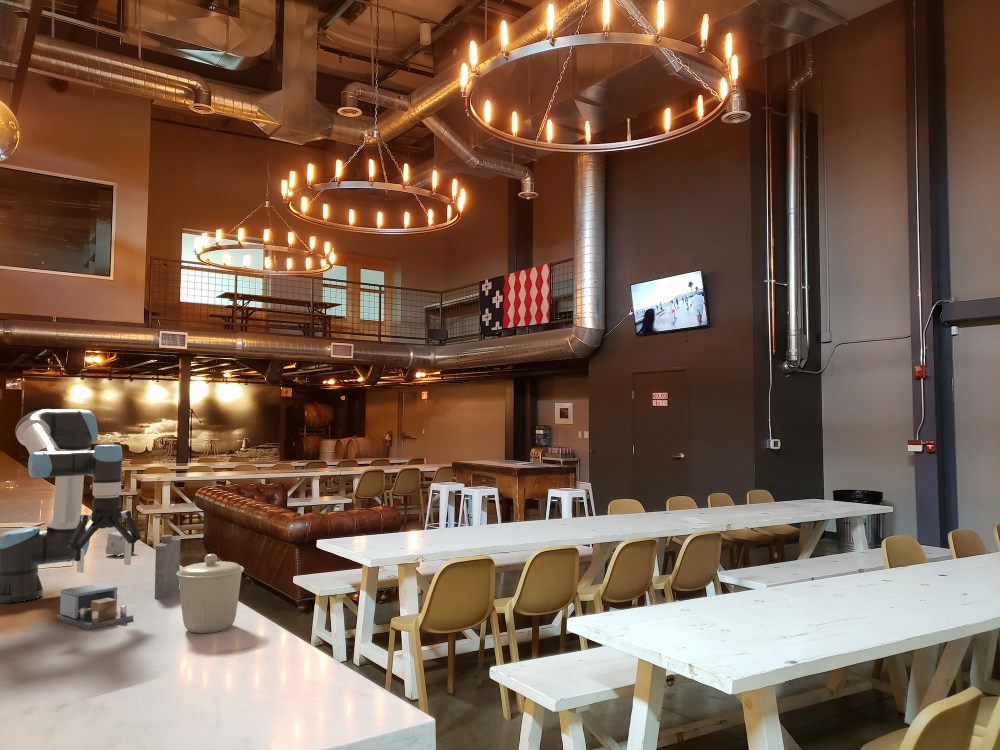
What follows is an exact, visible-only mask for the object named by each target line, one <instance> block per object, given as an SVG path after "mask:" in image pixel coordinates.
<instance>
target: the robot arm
mask: <svg viewBox="0 0 1000 750" xmlns="http://www.w3.org/2000/svg"><path fill="white" fill-rule="evenodd" d="M97 422H98V421H97V419H96V415H95V414H94V412H93V411H91V410H89V409H80V408H75V409H73V408H71V409H69V408H68V409H66V408H65V409H63V408H62V409H61V408H60V409H59V408H58V409H57V408H56V409H50V408H44V409H38V410H34V411H31V412H29V413H27V414H26V415H24V416H23V417H22V418H21V419H20V420H19V421H18V423H17V424H16V426H15V429H14V433H15V437H16V439H17V441H18V442H19V443H20V444H21V445H23V446H25V448H26V449H27V451H28V453H29V457H28V462H27V470H28V474H29V476H30V477H31V478H42V479H45V478H55V482H54V494H53V495H54V496H53V497H54V498H53V511H52V519H51V520H50V521H49V522H48V523H47V524H46V529H41V528H40V527H39V526H26V527H22V528H15V529H11V530H8V531H5V532H3V533H1V535H0V604H9V603H8V602H16V603H19V602H18V601H24V600H29V601H31V600H30V599H34V598H37V597H40V596H42V595H43V596H44V588H43V584H42V581H41V579H40V576H39V566H40V565H49V564H57V563H65V562H66V563H67V562H68V563H70V562H76V573H80V574H83V573H84V568H85V566H84V565H85V556H86V555H87V553H88V550H89V546H90V542H91V541H90V540H91V538H92V537H93V535H94V534H95V533H96V532H97V531H98V530H99V529H102V530H103V529H106V528H114V529H115V530H116V531H117V532H120V534H121V535H122V536H123V537H124V538H125V539H126V540H127V541H128V543H125V552H124V555H123V558H124V560H123V565H126V566H132V554H134V553H135V543H137V541H140V540H141V539H142V536H141V534H140V533H139V530H138V528H137V526H136V525H135V522H134V519H133V517H132V512H131V511H130V510H124V511H121V507H122V506H121V504H122V503H121V501H122V498H121V496H120V495H121V494H122V474H123V473H122V467H123V466H122V465H123V447H122V446H121V445H120V444H97V445H95V446H94V449H93V450H91V448H92V444H94V443H96V442H97V441H98V435H99V430H98V423H97ZM85 476H92V478H93V479H92V496H93V498H91V499H92V500H91V501H92V502H91V503H92V504H91V511H92V512H91V515H90V514H89V515H87V514H82V506H83V493H84V480H85ZM121 518H122V519H123V520H124V522H125V524H126V526H127V528H128V530H127V529H126V527H124V526H123V524H122V523H121V522H120V521H119V520H120V519H121ZM90 521H92V523H91V524H90V525H89V527H88V526H87V525H88V523H89V522H90ZM128 531H129V532H131V534H132V536H133V537H132V536H131V535H130V534H129V532H128ZM43 596H42V597H43ZM40 598H41V597H40ZM37 599H38V598H37ZM34 600H35V599H34ZM24 602H25V601H24Z"/></svg>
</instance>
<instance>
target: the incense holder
mask: <svg viewBox="0 0 1000 750" xmlns="http://www.w3.org/2000/svg"><path fill="white" fill-rule="evenodd" d="M127 531H128V532H129V534H130V535H131V536H132V534H131V532H130V530H127ZM132 537H133V536H132ZM125 543H128V541H127V540H126V539H125V538H124V537H123V536H122V535H121V534H120V532H119V531H113V532H108V534H107V539H106V546H105V555H108V554H113V555H119V554H122V553H124V552H125ZM113 555H112V556H113Z"/></svg>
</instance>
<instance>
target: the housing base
mask: <svg viewBox="0 0 1000 750" xmlns="http://www.w3.org/2000/svg"><path fill="white" fill-rule="evenodd" d="M98 616H99V611H94V612H92V618H91V608H88V609H86V607H82V608H80V610H78V618H72V617H69V616H66V615H63V614H60V613H59V614H57V616H56V617H57V620H58V621H60V622H63V623H66V624H69V625H72V626H74V627H77V628H79V629H82V630H85V631H90V630H91V629H92V630H96V629H100V628H106V627H109V626H115V625H118V624H123V623H127V622H132V621H134V614H130V613H127V605H121V606H120V610H116V617H114V618H109V619H104V620H99V621H98ZM114 624H115V625H114ZM105 626H106V627H105ZM95 628H96V629H95ZM92 630H91V631H92Z"/></svg>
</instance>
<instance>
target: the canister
mask: <svg viewBox="0 0 1000 750" xmlns="http://www.w3.org/2000/svg"><path fill="white" fill-rule="evenodd" d="M244 570H245V568H244V566H243V565H240V564H238V563H237V562H233V561H218V556H217V554H215V553H209V554H206V555H205V556H204V560H203V562H198V563H193V564H192V563H191V564H189V565H187V566H184V567H183V568H182V567H181V568H180V571H178V572H177V573H176V575H177V576H178V577H179V594H180V595H179V596H180V604H181V615H182V622H183V627H184V628H185V629H186V630H187V631H188V632H190V633H193V634H194V633H195V634H211V633H217V632H221V631H224V630H227V629H229V628H230V627H232V626H233V624H234V622H235V621H236V620H235V619H236V616H237V610H238V603H239V597H240V588H241V581H242V573H243V572H244Z"/></svg>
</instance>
